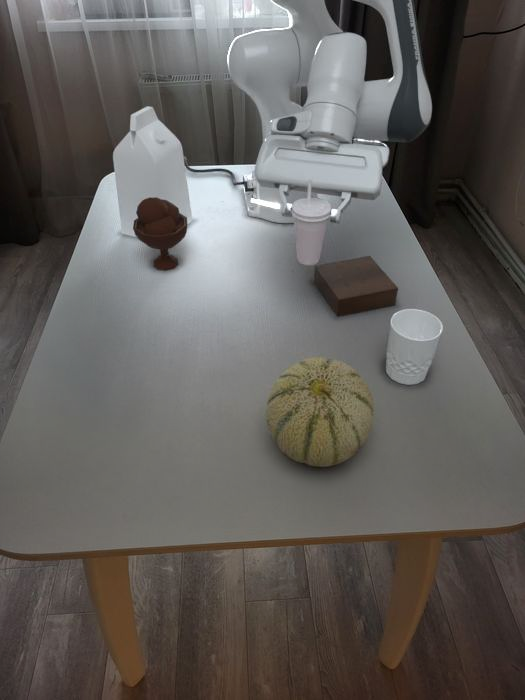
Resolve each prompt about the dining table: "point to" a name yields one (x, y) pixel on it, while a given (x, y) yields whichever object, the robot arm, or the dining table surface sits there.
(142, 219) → the ice cream bowl
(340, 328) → the dining table surface
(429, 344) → the white cup
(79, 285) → the dining table surface
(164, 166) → the milk
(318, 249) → the smoothie
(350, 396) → the cantaloupe
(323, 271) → the block
